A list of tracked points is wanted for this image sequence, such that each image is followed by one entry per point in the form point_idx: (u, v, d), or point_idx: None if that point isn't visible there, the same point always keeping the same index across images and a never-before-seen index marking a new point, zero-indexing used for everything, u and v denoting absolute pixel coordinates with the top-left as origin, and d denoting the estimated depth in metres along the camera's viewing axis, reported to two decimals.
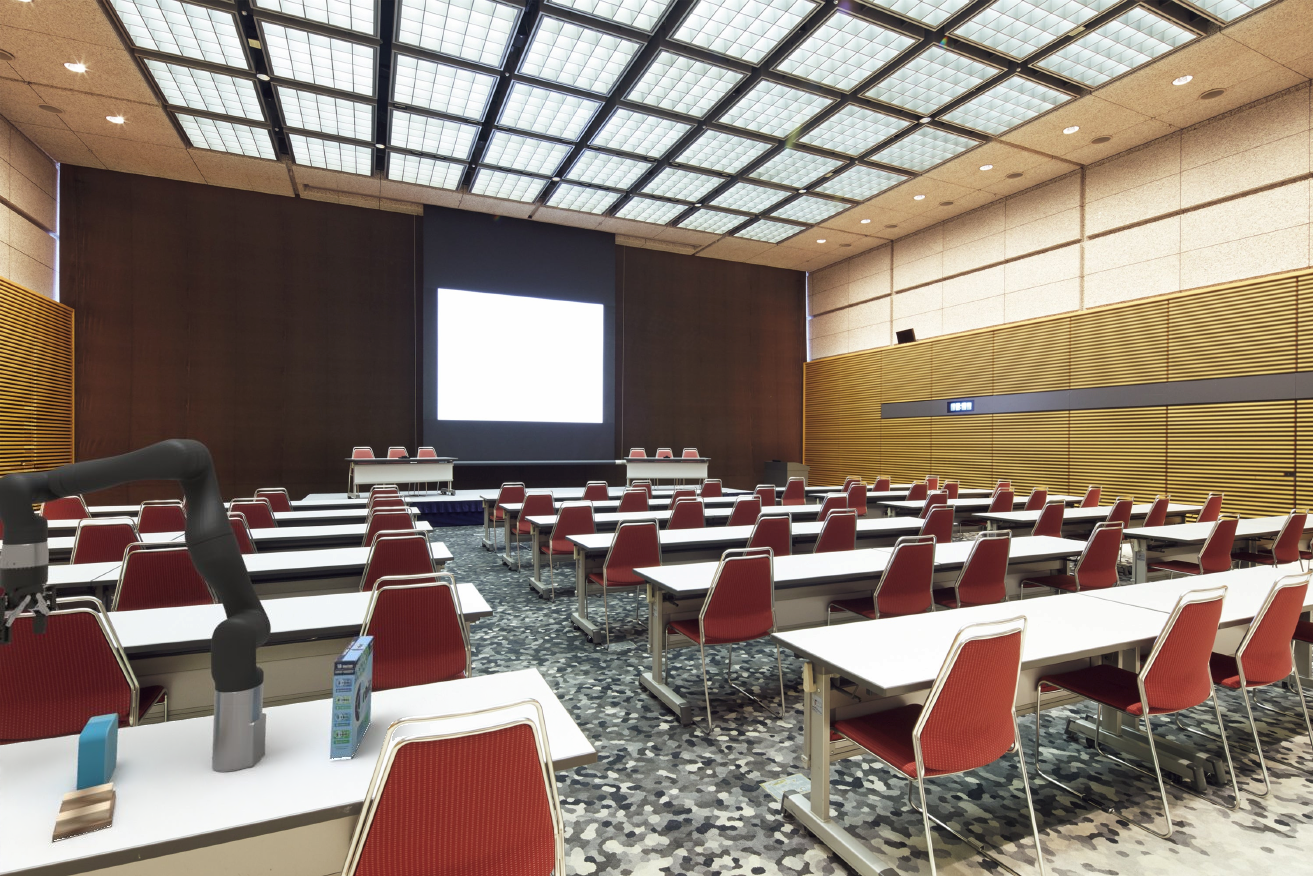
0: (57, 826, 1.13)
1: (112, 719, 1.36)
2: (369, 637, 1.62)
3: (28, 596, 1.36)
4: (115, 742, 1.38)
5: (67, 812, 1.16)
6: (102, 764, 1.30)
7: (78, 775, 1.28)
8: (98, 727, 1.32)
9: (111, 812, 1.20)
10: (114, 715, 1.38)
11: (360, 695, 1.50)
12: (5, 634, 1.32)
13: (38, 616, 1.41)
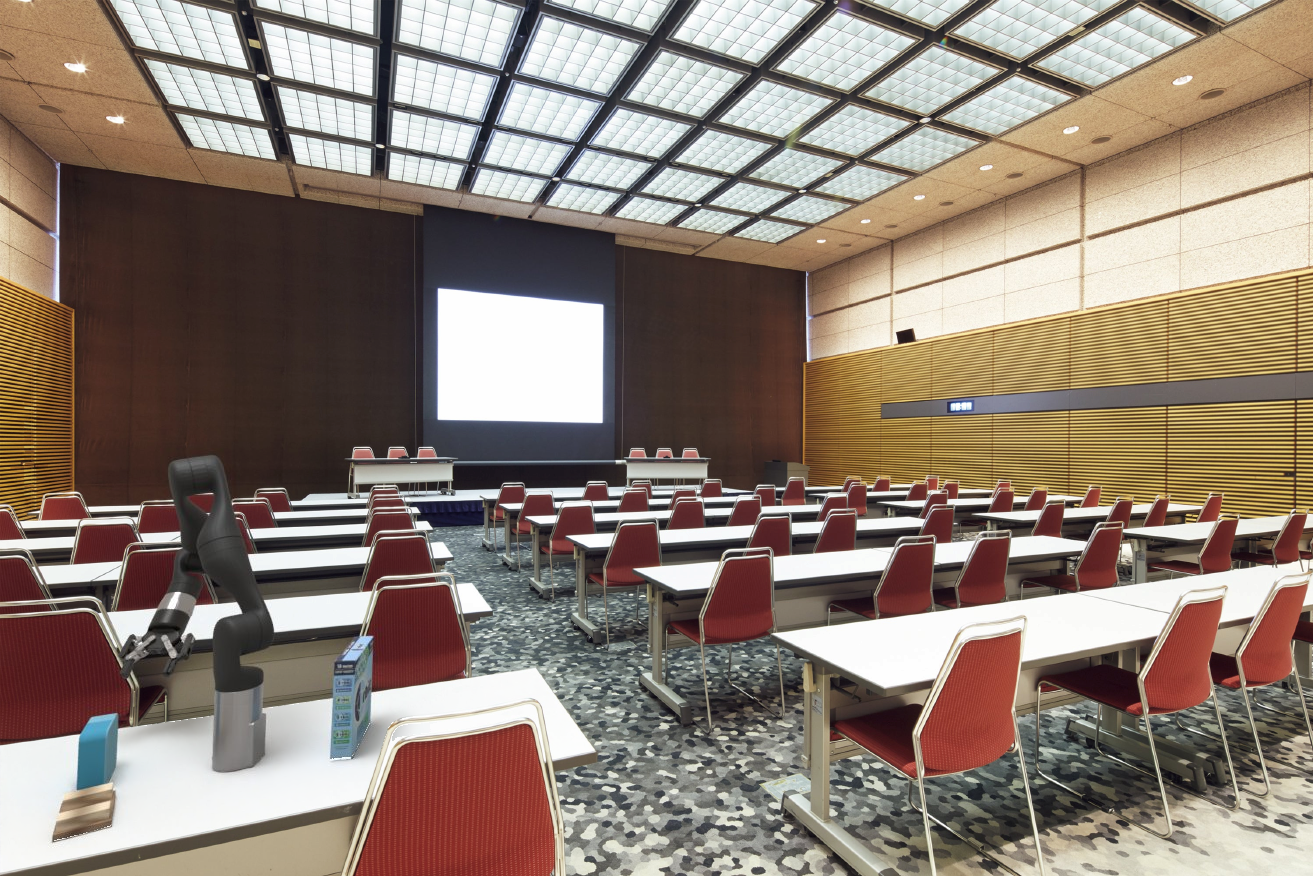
0: (57, 826, 1.13)
1: (112, 719, 1.36)
2: (369, 637, 1.62)
3: (153, 636, 1.54)
4: (115, 742, 1.38)
5: (67, 812, 1.16)
6: (102, 764, 1.30)
7: (78, 775, 1.28)
8: (98, 727, 1.32)
9: (111, 812, 1.20)
10: (114, 715, 1.38)
11: (360, 695, 1.50)
12: (124, 667, 1.49)
13: None
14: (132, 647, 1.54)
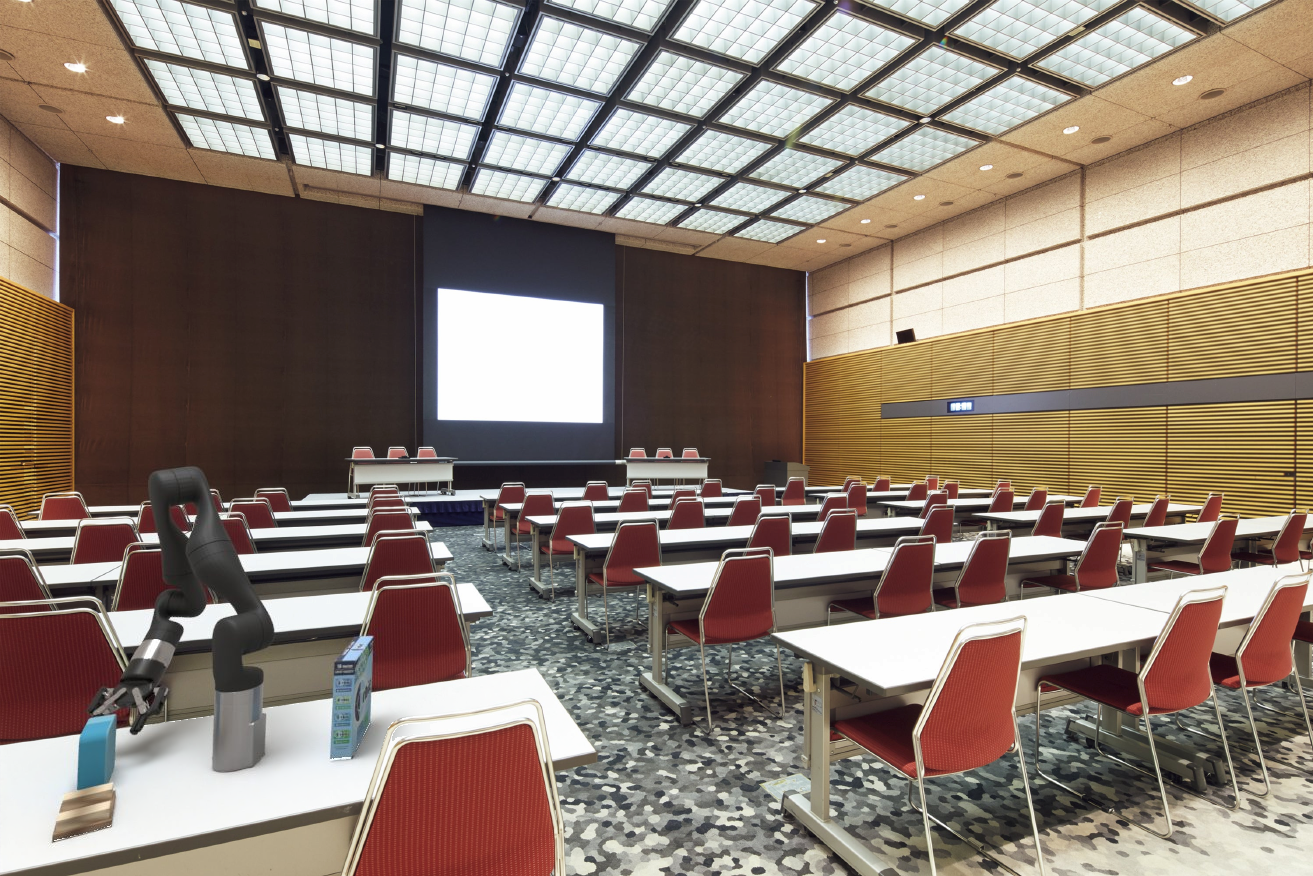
0: (57, 826, 1.13)
1: (111, 720, 1.35)
2: (369, 637, 1.62)
3: (124, 688, 1.43)
4: (114, 743, 1.38)
5: (67, 812, 1.16)
6: (103, 764, 1.29)
7: (78, 776, 1.27)
8: (98, 728, 1.31)
9: (111, 812, 1.20)
10: (113, 716, 1.37)
11: (360, 695, 1.50)
12: None
13: None
14: (103, 700, 1.43)
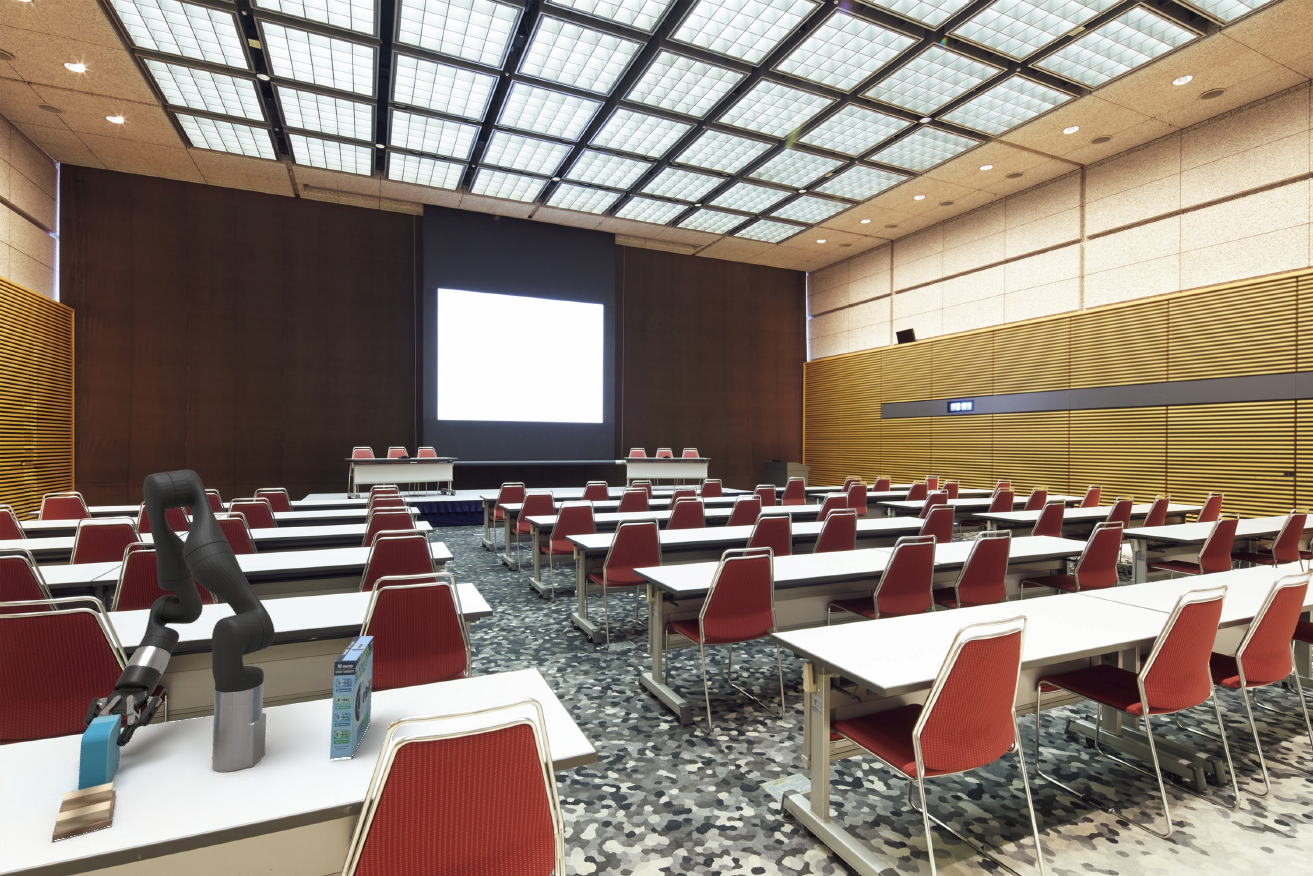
0: (57, 826, 1.13)
1: (115, 720, 1.35)
2: (369, 637, 1.62)
3: (118, 696, 1.42)
4: None
5: (67, 812, 1.16)
6: (104, 765, 1.29)
7: (80, 776, 1.27)
8: (100, 728, 1.31)
9: (111, 812, 1.20)
10: (117, 716, 1.37)
11: (360, 695, 1.50)
12: None
13: None
14: (98, 710, 1.41)
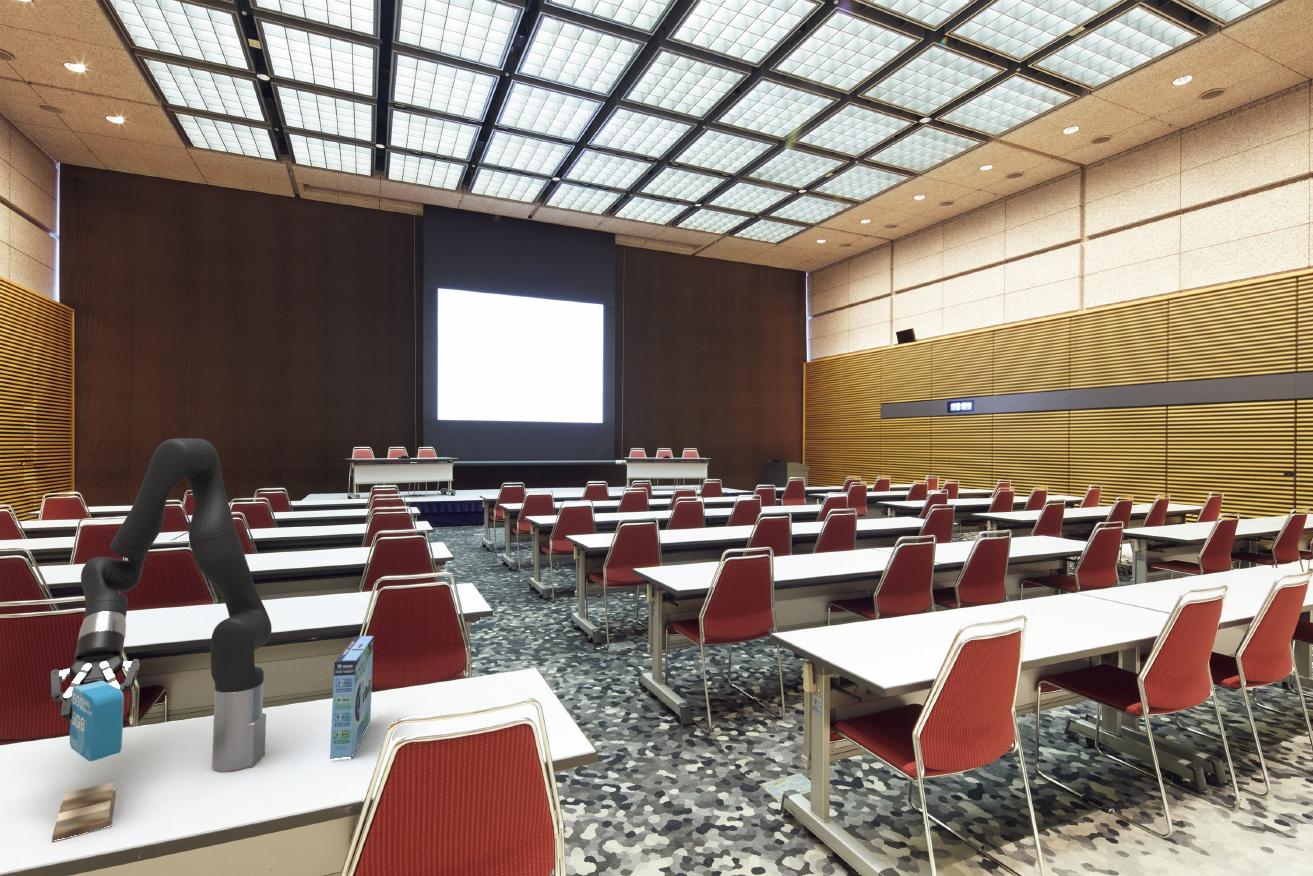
0: (57, 826, 1.13)
1: (108, 684, 1.24)
2: (369, 637, 1.62)
3: (87, 664, 1.28)
4: None
5: (67, 812, 1.16)
6: (119, 726, 1.20)
7: (94, 741, 1.17)
8: (104, 690, 1.21)
9: (111, 812, 1.20)
10: (103, 682, 1.25)
11: (360, 695, 1.50)
12: (64, 707, 1.22)
13: None
14: (60, 683, 1.26)
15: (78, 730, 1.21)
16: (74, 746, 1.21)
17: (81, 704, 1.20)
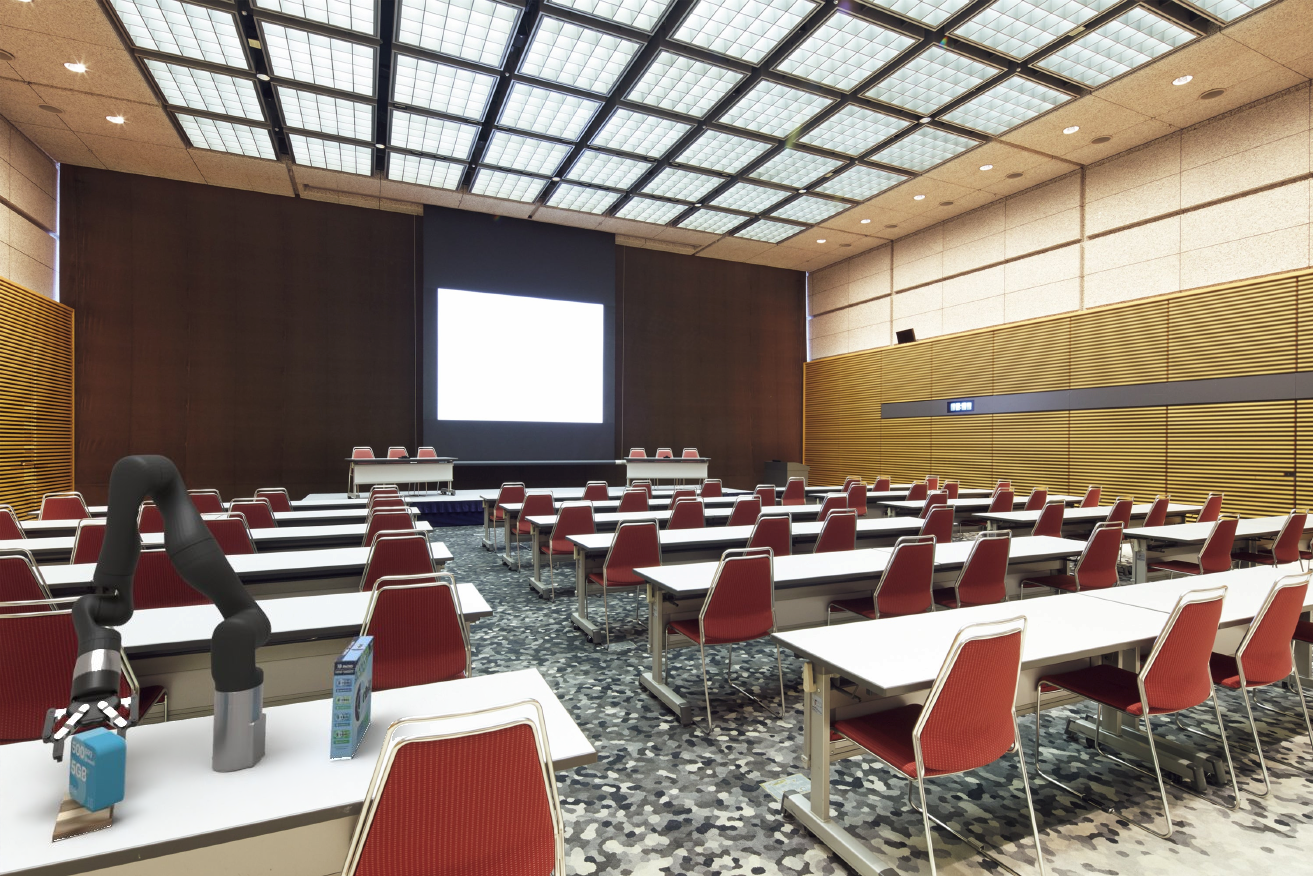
0: (57, 826, 1.13)
1: (109, 731, 1.23)
2: (369, 637, 1.62)
3: (85, 705, 1.26)
4: None
5: (67, 812, 1.16)
6: (122, 775, 1.19)
7: (97, 791, 1.16)
8: (106, 739, 1.20)
9: (111, 812, 1.20)
10: (104, 728, 1.24)
11: (360, 695, 1.50)
12: (56, 748, 1.20)
13: None
14: (54, 723, 1.24)
15: (79, 779, 1.19)
16: (74, 795, 1.20)
17: (83, 753, 1.19)
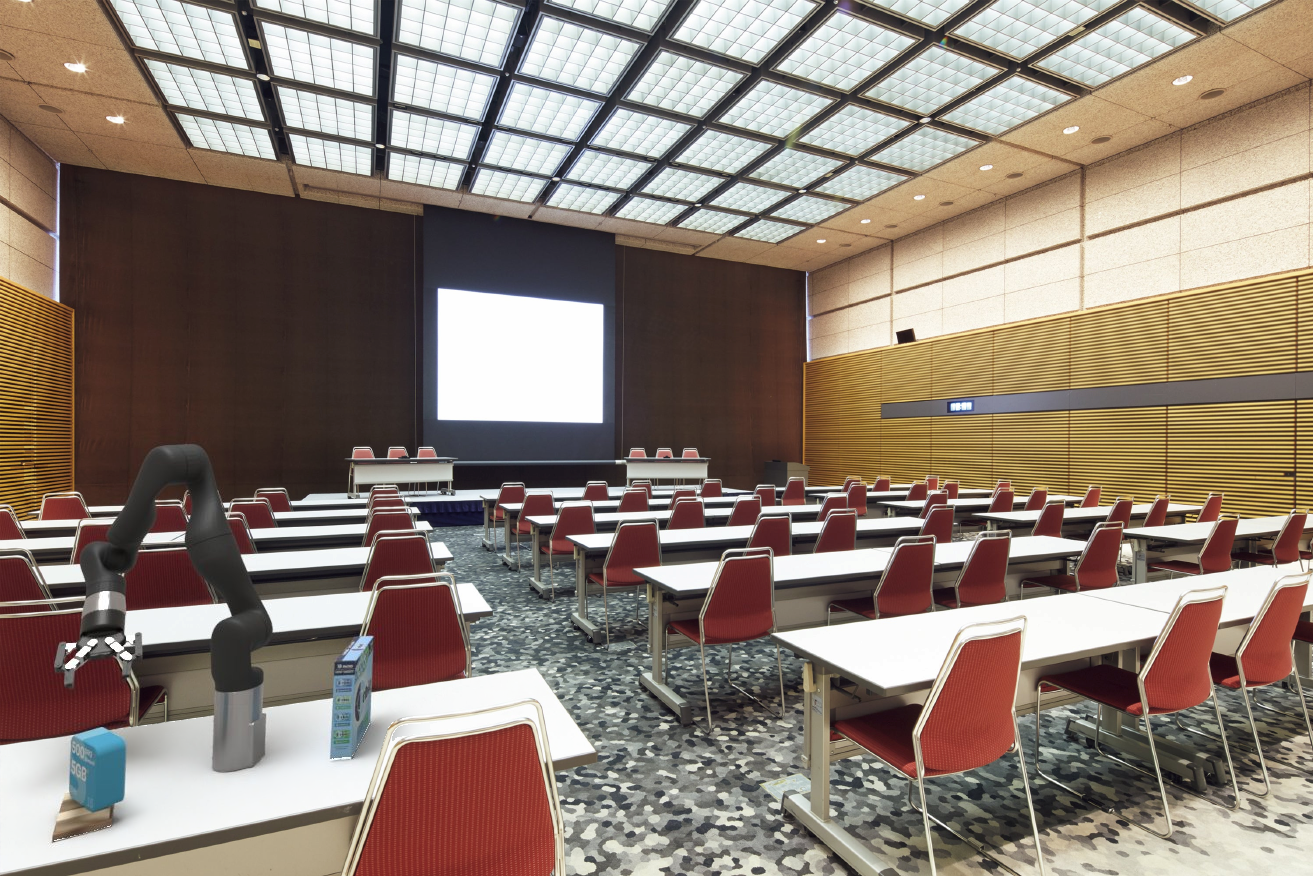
0: (57, 826, 1.13)
1: (109, 731, 1.23)
2: (369, 637, 1.62)
3: (93, 640, 1.36)
4: None
5: (67, 812, 1.16)
6: (122, 775, 1.19)
7: (97, 791, 1.16)
8: (106, 739, 1.20)
9: (111, 812, 1.20)
10: (103, 728, 1.24)
11: (360, 695, 1.50)
12: (67, 677, 1.31)
13: None
14: (65, 656, 1.34)
15: (79, 779, 1.19)
16: (74, 795, 1.20)
17: (83, 753, 1.19)
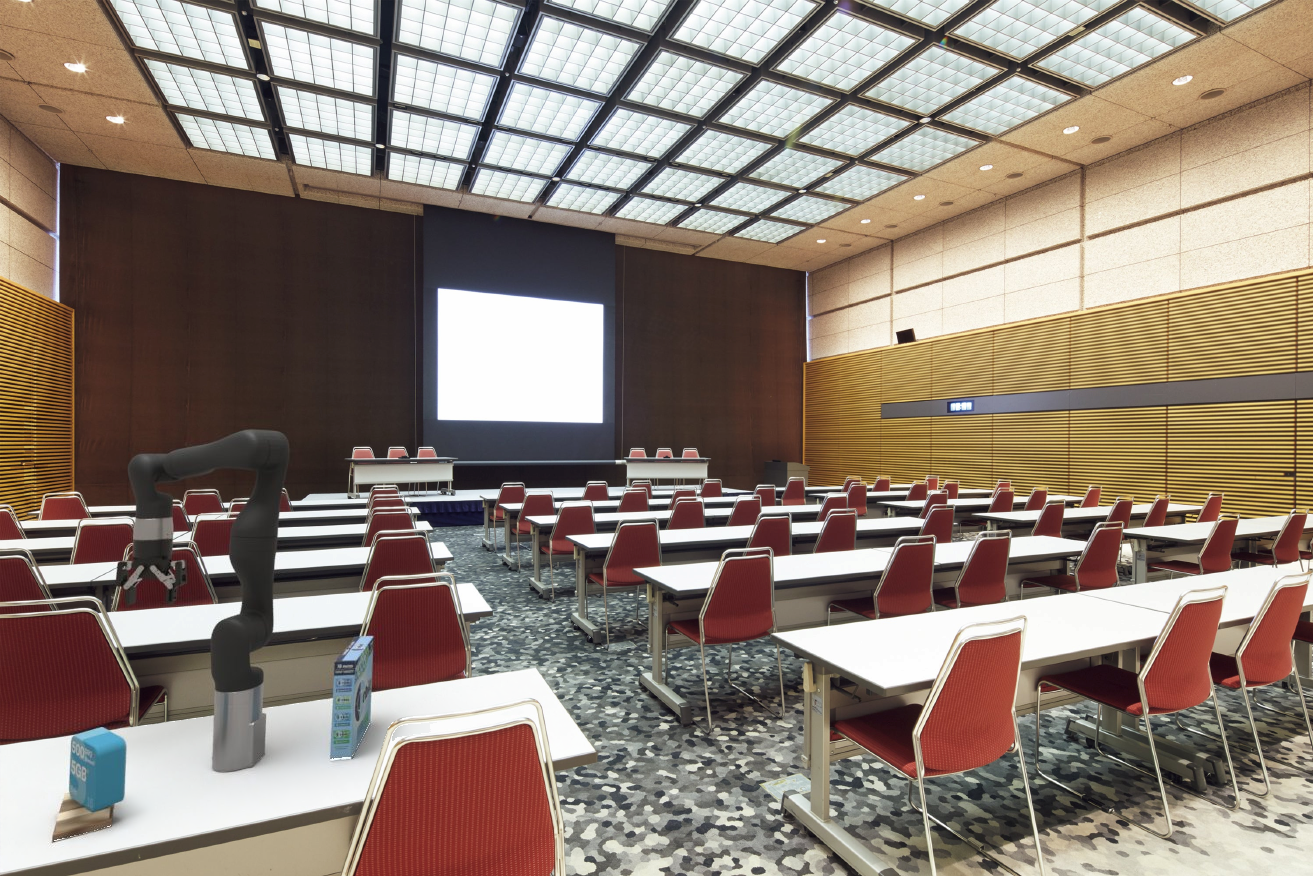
0: (57, 826, 1.13)
1: (109, 731, 1.23)
2: (369, 637, 1.62)
3: (141, 566, 1.49)
4: None
5: (67, 812, 1.16)
6: (122, 775, 1.19)
7: (97, 791, 1.16)
8: (106, 739, 1.20)
9: (111, 812, 1.20)
10: (104, 728, 1.24)
11: (360, 695, 1.50)
12: (126, 595, 1.50)
13: None
14: (126, 571, 1.51)
15: (79, 779, 1.19)
16: (74, 795, 1.20)
17: (83, 753, 1.19)
